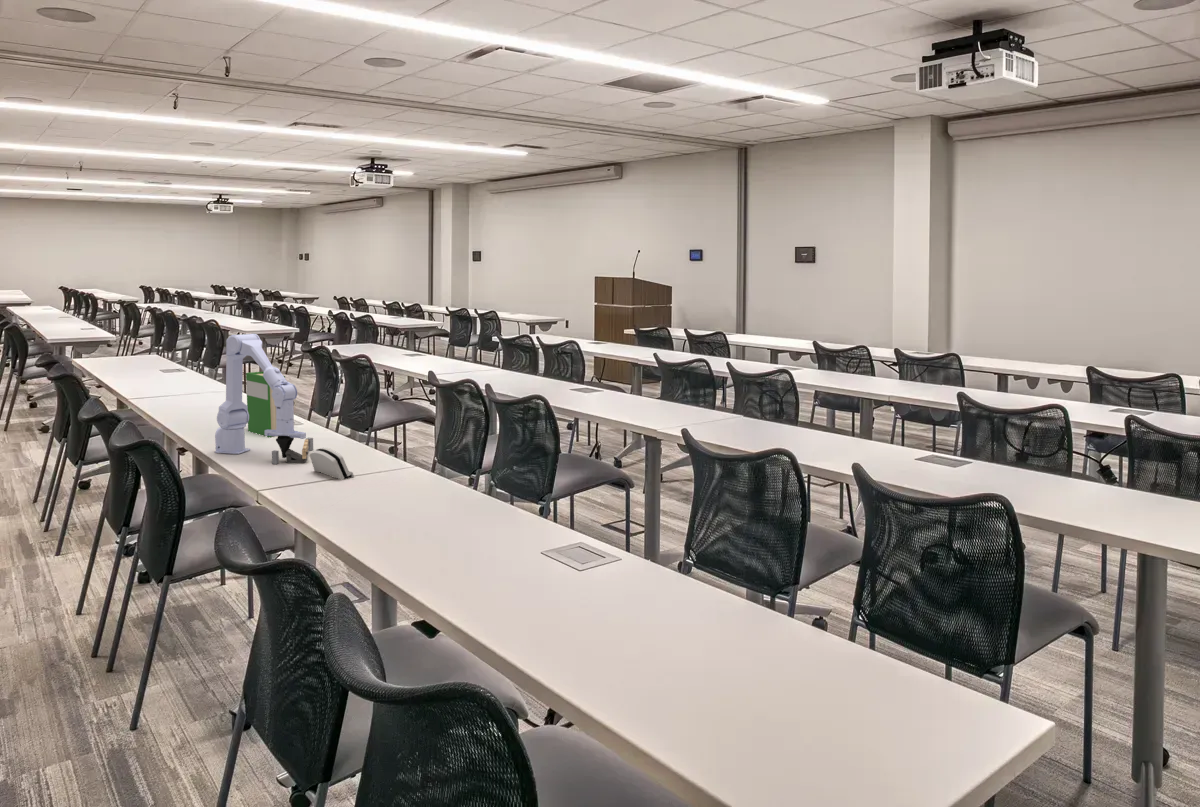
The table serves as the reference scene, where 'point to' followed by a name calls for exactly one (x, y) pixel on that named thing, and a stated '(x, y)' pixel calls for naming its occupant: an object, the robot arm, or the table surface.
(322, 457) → the grey arched piece
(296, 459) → the wedge
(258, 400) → the hardback book
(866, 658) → the table surface
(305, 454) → the gate
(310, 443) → the pair of grey posts
